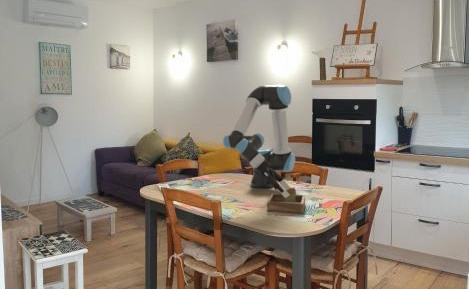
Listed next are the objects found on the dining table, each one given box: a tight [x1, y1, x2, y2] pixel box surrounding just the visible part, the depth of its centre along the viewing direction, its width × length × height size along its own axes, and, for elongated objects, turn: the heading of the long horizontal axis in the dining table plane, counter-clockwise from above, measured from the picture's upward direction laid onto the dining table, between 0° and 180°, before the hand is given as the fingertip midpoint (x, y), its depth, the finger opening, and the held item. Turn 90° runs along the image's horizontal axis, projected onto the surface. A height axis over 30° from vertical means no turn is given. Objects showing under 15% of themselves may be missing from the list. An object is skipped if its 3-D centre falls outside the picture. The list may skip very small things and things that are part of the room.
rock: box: [280, 187, 297, 203], centre depth 221 cm, size 11×9×10 cm
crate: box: [266, 193, 306, 214], centre depth 221 cm, size 18×18×5 cm
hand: (288, 193), depth 220 cm, fingers open, 13 cm apart
